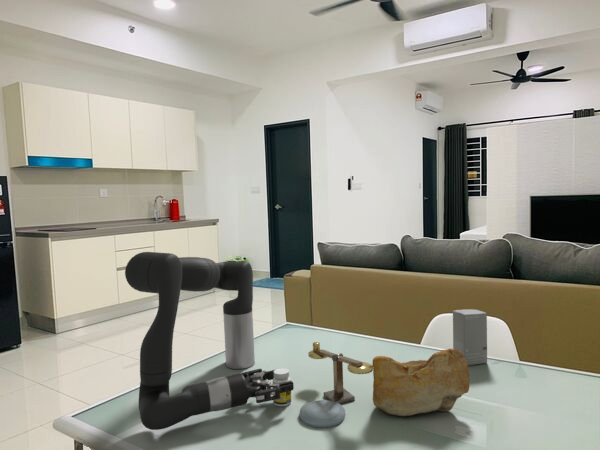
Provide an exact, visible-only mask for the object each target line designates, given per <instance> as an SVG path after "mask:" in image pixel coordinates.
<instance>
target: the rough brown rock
mask: <svg viewBox="0 0 600 450" xmlns="http://www.w3.org/2000/svg"><path fill="white" fill-rule="evenodd" d="M372 366H373V371H372V372H373V375H372V376H373V385H372V389H373V390H372V403H373V405H374V407H376V408H377V409H380V410H382V411H383V412H385V413H386V414H388V415H393V416H398V417H409V416H414V415H417V414H427V413H430V412H434V411H440V412H449V411H451V410H452V409H453V407H454V405H455V403H456V402H457V399H458V400H459V398H461V397H462V396H463V395H465V394H467V393H469V390H470V385H471V384H470V381H471V380H470V379H471V378H470V374H469V368H468V366H467V362H466V360H465V358H464V356H463V354H462V353H461V351H459V350H457V349H453V348H448V349H443V350H440V351H436V352H435V353H433V354H432V355H430V356H429V358H428V359H427V360H426V359H418V360H409V361H405V362H400V361H396V360H395V359H394V358H393V357H389V356H385V355H378V356H374V357H373V359H372Z"/></svg>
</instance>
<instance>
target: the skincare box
mask: <svg viewBox="0 0 600 450" xmlns="http://www.w3.org/2000/svg"><path fill="white" fill-rule="evenodd" d="M487 318H488V315H487V312H485V311H482V310H479V309H477V308H476V309H475V308H472V309H465V308H464V309H456V310H452V342H453V343H452V345H453V346H452V349H457V350H459V351H461V353H462V354H463V356H464V358H465V360H466V362H467V366H474V365H481V364H487V363H488V326H487V325H488V321H487V320H488V319H487Z"/></svg>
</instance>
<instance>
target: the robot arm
mask: <svg viewBox="0 0 600 450" xmlns="http://www.w3.org/2000/svg"><path fill="white" fill-rule="evenodd" d="M124 275H125V279H126V282H127V284H128V285H129V286H130V287H131V288H132V289H134V290H135V291H138V292H141V293H151V294H158V307H157V312H156V315H155V318H154V319H153V322H152V323H151V325H150V327H149V329H147V332H146V334H145V335H144V337H143V339H142V342H141V345H140V350H139V351H140V352H139V380H140V382H139V390H138V410H139V416H140V422H141V424H142V425H143V426H144V427H145V428H146V429H148V430H153V431H158V430H163V429H164V430H165V429H168V428H170V427H172V426H175V425H177V424H179V423H181V422H183V421H186V420H187V419H189V418H190V417H193V416H198V415H203V414H208V413H212V412H221V411H224V410H228V409H233V408H237V407H241V406H245V405H247V403H248V400H249V399H250V398H255V403H256V404H261V403H266V402H272V401H273V400H276V399H280V393H283V392H287V391H291V392H292V391H293V390H294V388H295V387H294V382H293V381H292V380H291V381H288V382H283V383H279V384H273V382H271V380H272V381H273V378H274V370H275V369H272V370H263V369H262V368H257V369H252V370H247V371H245V372H240V373H236V374H230V375H225V376H222V377H221V376H220V377H216V378H212V379H209V380H207V381H203V382H198V383H192V384H189V385H187V386H185V387H183V388H182V390H181V392H180V393H177V394H175V395H171V396H170V380H171V378H172V373H173V339H174V332H175V331H174V330H175V324H176V319H177V314H178V309H179V307H178V306H179V302H180V301H179V300H180V296H181V291H184V292H185V291H186V292H207V291H211V290H213V289H218V290H223V291H236V292H237V297H235V298H233V299H230V300H227V301H226V302H224V303H223V304H222V309H223V310H222V311H223V312H222V313H223V315H222V316H223V326H224V327H223V333H224V350H225V366H226V367H227V368H229V369H233V370H240V369H241V370H242V369H246V368H250V367H252V366H254V365H255V363H256V361H255V357H256V356H255V341H254V339H255V337H254V321H253V320H254V319H253V318H254V317H253V301H254V293H253V291H254V287H253V286H254V284H253V283H254V273H253V267H252V264H251V263H250V262H248V261H238V260H237V261H234V260H233V261H231V260H230V261H221V262H215V261H214V260H212V259H210V258H207V257H197V256H183V257H182V256H181V257H178V255H176V254H174V253H169V252H155V251H153V252H152V251H142V252H139V253H137V254H135V255H133V256H132V257H131V258H130V259H129V261H128V262H127V264H126V265H125V270H124ZM273 395H275V396H273Z"/></svg>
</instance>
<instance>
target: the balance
mask: <svg viewBox="0 0 600 450" xmlns="http://www.w3.org/2000/svg"><path fill="white" fill-rule="evenodd" d="M307 354H308V357H309V358H310V359H313V360H323V359H331V360H332V365H333V367H332V369H333V389H332V390H328V391H324V392H323V397H324V398H325V400H328V401H333V402H336V403H339V404H340V405H342V404H346V403H350V402H353V401H356V400H355V395H353V394H352V393H351V392H349V391H348V390H347V389H346V388H344V376H343V375H344V371H343V370H344V368H343V366H344V364H343V363H345V364H347V371H348V372H349V373H352V374H354V375H365V374H371V373H372V372H373V364H371V363H370V362H365V361H361V360H357V359H355V358H351V357H346V356H344V354H343V353H341V352H340V353H334V352H330V351H329V350H327V349H322V348H321V346H320V342H318V341H315V342H312V350H310V351H309V352H308V353H307Z"/></svg>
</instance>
